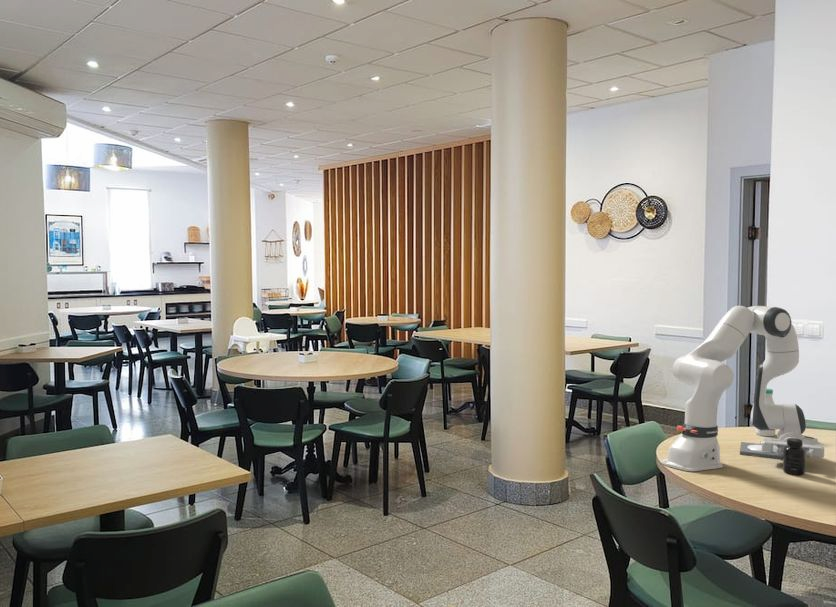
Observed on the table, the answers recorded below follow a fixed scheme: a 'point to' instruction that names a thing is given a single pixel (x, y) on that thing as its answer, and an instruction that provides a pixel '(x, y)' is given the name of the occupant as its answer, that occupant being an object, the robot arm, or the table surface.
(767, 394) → the milk bottle
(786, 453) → the supplement bottle
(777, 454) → the charging pad
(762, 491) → the table surface
